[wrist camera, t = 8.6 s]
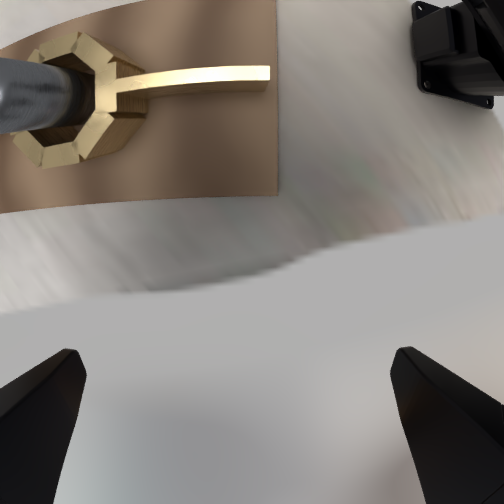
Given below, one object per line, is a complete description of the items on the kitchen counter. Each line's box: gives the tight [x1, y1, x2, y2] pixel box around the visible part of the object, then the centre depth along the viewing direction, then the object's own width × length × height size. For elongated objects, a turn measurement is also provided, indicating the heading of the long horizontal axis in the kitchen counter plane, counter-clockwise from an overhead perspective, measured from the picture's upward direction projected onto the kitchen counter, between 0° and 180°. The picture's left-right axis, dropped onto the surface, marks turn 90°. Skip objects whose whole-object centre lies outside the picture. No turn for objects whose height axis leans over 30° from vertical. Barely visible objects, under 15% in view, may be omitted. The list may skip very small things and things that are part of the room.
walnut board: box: [0, 0, 278, 214], centre depth 15 cm, size 20×12×1 cm, turn 91°
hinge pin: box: [0, 57, 96, 134], centre depth 11 cm, size 3×3×9 cm
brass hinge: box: [10, 31, 270, 169], centre depth 13 cm, size 19×6×4 cm, turn 91°
